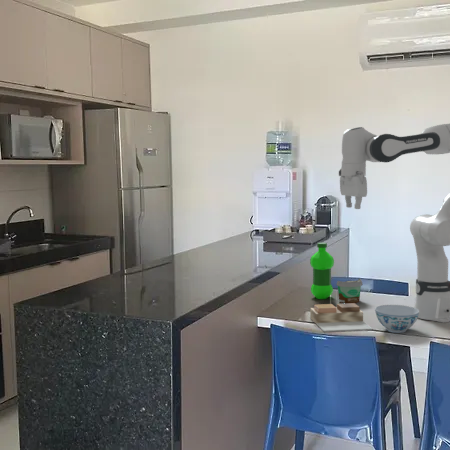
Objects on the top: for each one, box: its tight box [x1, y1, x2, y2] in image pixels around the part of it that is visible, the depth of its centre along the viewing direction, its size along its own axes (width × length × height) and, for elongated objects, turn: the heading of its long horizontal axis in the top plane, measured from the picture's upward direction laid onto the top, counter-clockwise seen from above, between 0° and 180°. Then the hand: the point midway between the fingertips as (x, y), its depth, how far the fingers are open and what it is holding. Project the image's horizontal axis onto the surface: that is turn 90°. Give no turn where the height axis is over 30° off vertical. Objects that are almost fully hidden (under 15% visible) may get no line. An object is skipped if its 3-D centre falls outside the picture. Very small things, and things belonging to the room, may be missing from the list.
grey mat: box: [315, 320, 374, 333], centre depth 200 cm, size 18×10×1 cm, turn 96°
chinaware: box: [374, 304, 419, 334], centre depth 195 cm, size 15×15×8 cm
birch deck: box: [309, 306, 364, 324], centre depth 210 cm, size 18×9×4 cm, turn 96°
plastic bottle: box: [309, 242, 335, 300], centre depth 247 cm, size 10×10×25 cm
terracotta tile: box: [313, 303, 337, 313], centre depth 209 cm, size 7×6×2 cm
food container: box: [336, 278, 363, 304], centre depth 236 cm, size 12×6×10 cm, turn 114°
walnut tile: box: [336, 303, 361, 312], centre depth 209 cm, size 7×6×2 cm
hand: (353, 208), depth 206 cm, fingers open, 8 cm apart
